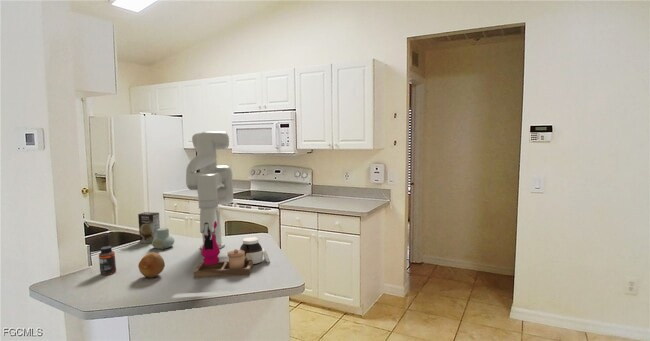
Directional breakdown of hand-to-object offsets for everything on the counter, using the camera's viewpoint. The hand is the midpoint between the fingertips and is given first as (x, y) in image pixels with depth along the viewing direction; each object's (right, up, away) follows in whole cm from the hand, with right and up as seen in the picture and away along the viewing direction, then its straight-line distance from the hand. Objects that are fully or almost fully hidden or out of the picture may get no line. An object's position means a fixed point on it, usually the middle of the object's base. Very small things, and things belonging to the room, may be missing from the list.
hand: (210, 246), depth 155 cm
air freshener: (-38, -9, +43) cm, 58 cm away
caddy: (+5, -12, +1) cm, 13 cm away
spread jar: (+17, -11, +13) cm, 24 cm away
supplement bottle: (-46, -13, +6) cm, 48 cm away
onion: (-25, -13, +1) cm, 28 cm away
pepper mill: (0, -7, 0) cm, 7 cm away
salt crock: (+11, -10, +2) cm, 15 cm away
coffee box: (-51, -9, +56) cm, 76 cm away
